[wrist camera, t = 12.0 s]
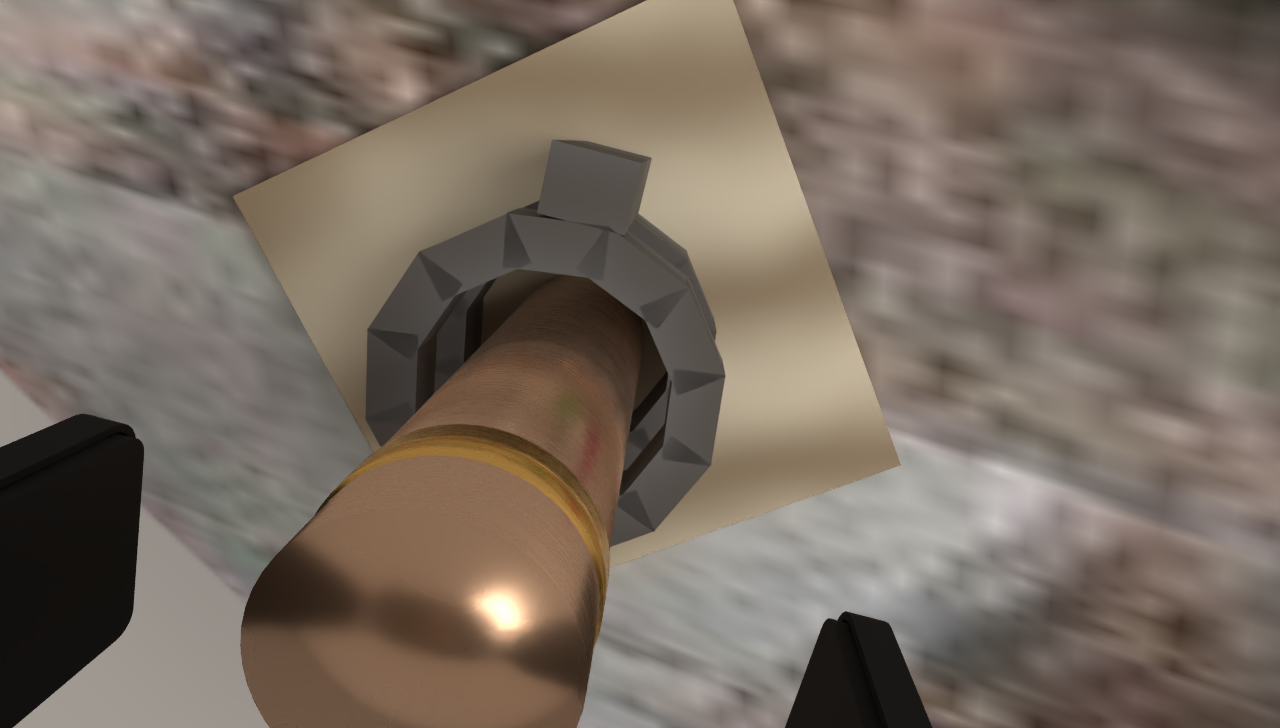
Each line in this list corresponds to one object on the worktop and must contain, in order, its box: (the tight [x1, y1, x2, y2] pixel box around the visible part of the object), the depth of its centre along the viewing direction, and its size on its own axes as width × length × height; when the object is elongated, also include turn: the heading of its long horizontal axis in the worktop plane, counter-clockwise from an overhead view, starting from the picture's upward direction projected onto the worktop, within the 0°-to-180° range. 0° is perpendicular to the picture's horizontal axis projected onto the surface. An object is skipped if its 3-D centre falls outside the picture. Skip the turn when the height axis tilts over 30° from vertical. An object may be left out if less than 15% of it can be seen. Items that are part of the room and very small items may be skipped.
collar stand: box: [233, 0, 901, 568], centre depth 22 cm, size 16×16×8 cm
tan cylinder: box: [240, 275, 644, 728], centre depth 16 cm, size 4×4×16 cm
